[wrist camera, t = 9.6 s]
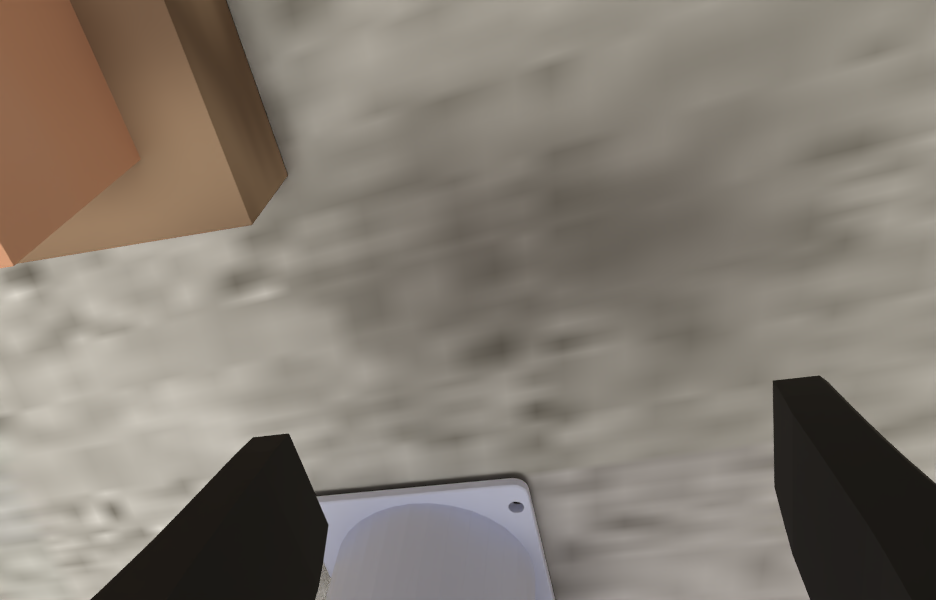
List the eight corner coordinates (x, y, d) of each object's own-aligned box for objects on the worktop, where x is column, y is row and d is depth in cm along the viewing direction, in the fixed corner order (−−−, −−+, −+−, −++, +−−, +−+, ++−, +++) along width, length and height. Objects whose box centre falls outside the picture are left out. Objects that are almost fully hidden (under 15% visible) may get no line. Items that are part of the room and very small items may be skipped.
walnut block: (288, 175, 21) (251, 224, 18) (-1, 226, 23) (-70, 277, 20) (149, -217, 16) (76, -223, 14) (-199, -118, 18) (-320, -107, 16)
